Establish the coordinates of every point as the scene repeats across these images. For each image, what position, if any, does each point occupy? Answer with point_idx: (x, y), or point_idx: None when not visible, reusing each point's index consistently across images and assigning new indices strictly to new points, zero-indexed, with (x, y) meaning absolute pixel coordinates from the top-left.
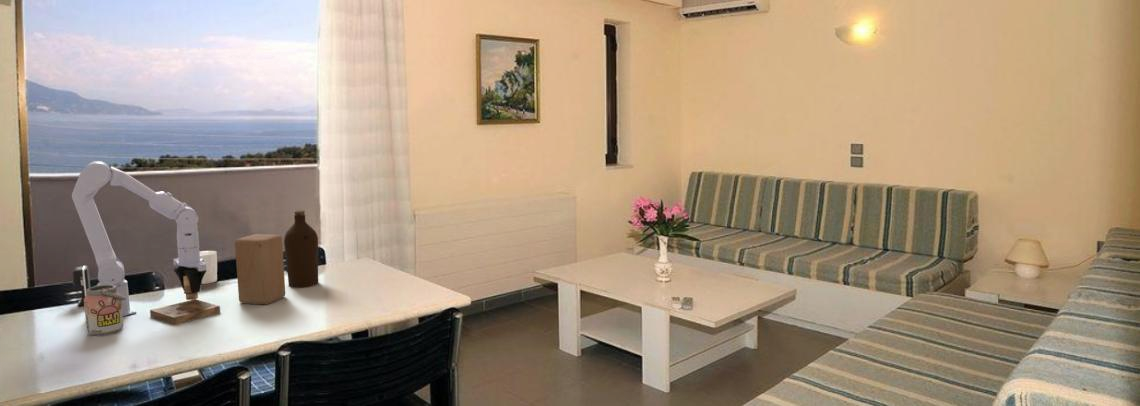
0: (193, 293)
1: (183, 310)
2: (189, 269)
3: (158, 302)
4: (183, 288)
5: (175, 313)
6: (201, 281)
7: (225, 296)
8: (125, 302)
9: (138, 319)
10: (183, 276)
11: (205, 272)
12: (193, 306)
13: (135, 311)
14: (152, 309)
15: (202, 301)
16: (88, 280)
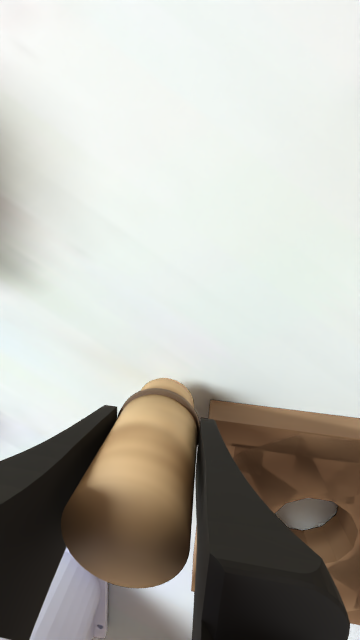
0: (197, 440)
1: (344, 560)
2: (10, 558)
3: (20, 430)
4: None
5: (351, 597)
6: (239, 469)
7: (187, 216)
8: (74, 637)
9: (185, 584)
10: (90, 571)
11: (311, 549)
12: (316, 495)
13: None
14: (194, 584)
15: (289, 432)
16: None
